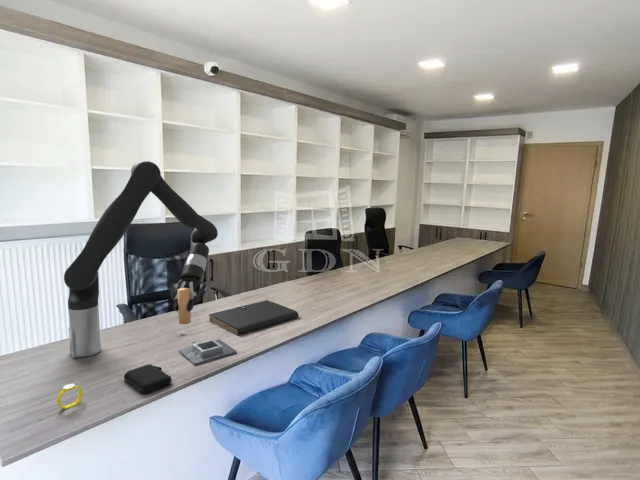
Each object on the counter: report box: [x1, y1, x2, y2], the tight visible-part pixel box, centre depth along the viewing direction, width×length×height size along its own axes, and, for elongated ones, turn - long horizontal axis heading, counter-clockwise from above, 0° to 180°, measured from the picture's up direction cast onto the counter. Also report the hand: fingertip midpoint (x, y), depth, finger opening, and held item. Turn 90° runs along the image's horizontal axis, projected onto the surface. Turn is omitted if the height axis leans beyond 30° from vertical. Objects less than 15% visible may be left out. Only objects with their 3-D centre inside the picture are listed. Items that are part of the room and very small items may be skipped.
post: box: [176, 288, 192, 325], centre depth 135 cm, size 4×4×12 cm
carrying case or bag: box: [123, 364, 173, 395], centre depth 119 cm, size 11×3×15 cm
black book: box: [208, 299, 299, 337], centre depth 176 cm, size 33×4×24 cm
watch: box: [56, 383, 84, 410], centre depth 104 cm, size 6×3×6 cm, turn 148°
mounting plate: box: [178, 338, 238, 366], centre depth 140 cm, size 16×14×3 cm
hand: (182, 310), depth 133 cm, fingers closed on post, 4 cm apart
